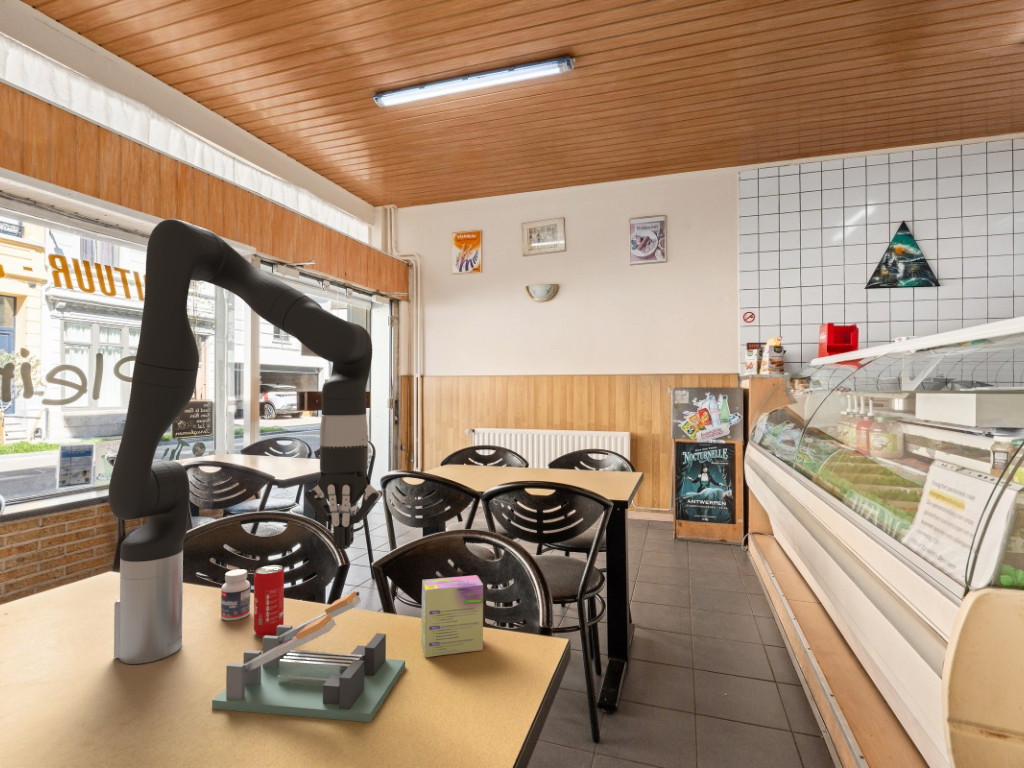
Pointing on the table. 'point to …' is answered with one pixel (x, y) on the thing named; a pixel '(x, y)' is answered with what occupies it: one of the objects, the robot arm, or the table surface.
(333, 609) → the lever far
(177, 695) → the table surface
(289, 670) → the heatsink block
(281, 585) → the beverage can
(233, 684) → the socket board
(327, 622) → the lever near
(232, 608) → the pill bottle
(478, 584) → the box
